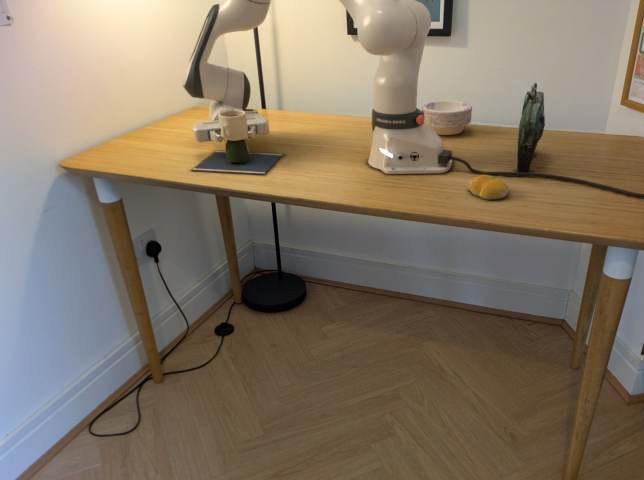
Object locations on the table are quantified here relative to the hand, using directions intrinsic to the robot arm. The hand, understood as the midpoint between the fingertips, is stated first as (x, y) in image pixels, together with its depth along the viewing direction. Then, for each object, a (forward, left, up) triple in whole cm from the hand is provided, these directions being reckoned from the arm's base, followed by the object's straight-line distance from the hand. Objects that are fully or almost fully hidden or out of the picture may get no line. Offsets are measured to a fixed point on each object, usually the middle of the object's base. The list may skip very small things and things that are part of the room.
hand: (235, 137), depth 149 cm
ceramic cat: (-77, -12, -8) cm, 78 cm away
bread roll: (-67, +11, -8) cm, 68 cm away
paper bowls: (-53, -37, -8) cm, 66 cm away
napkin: (0, -1, -7) cm, 7 cm away
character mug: (0, -1, -7) cm, 7 cm away
